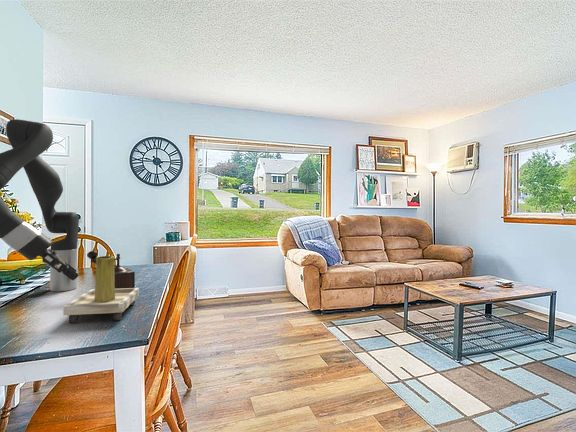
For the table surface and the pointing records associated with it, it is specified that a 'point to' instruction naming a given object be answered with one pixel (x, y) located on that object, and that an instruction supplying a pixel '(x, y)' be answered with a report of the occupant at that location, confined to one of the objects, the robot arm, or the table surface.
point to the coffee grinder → (118, 272)
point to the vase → (104, 279)
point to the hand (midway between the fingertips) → (75, 275)
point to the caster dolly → (100, 304)
